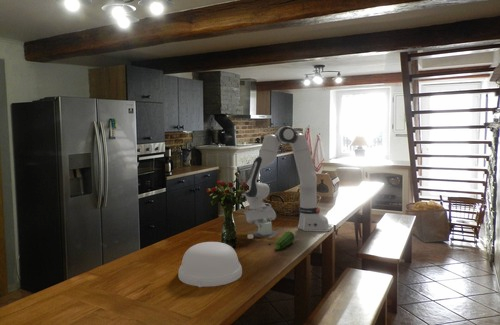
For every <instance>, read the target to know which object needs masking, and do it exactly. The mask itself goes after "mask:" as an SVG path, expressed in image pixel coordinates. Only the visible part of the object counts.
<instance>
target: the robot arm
mask: <svg viewBox="0 0 500 325" xmlns="http://www.w3.org/2000/svg"><path fill="white" fill-rule="evenodd" d="M285 144H289V145H290V147H291V148H292V153H293V156H294V161H295V165H296V170H297V175H298V178H299V210H298V212H299V220H298V225H297V228H298V229H299V230H302V231H304V232H320V233H321V232H326V233H327V232H329V231H331V230H332V229H333V228H332V227H333V226H332V225H330V224H329V220H328V218H327V217H326V216H325V215H323V214H322V213H321V210H320V209H321V208H320V207H318V199H317V198H318V194H317V193H318V192H317V187H318V186H317V182H318V177H317V173H316V169H315V165H314V160H313V158H312V154H311V150H310V145H309V142H308V140H307V138H306V136H305V135H304V133H298V132H297V131H296V130H295V129H294V128H293V127H291V126H290V125H289V126H288V125H287V126H285V125H284V126H281V127H279V128H277V130H276V131H275V132H274V133H273V134H272V133H271V134H266V135H265V137H264V138H263V140H262V144H261V147H260V152H259V154H258V156H257V157H255V159H254V161H253V163H252V165H251V169H250V170H249V171H250V172H249V175H248V177H247V180H246V182H245V184H247V185H248V186H249V190H247V191H246V192H244V196H245V199H246V201H247V203H248V206H249V209H245V210H244V211H243V212H244V215H245V219H246V222H247V223H248V224H253V223H254V224H255V225H256V226H257V229H258V228H260V227H261V224H259V223H258V222H262V221H263V218H266V219H267V221H268V222H271V223H272V221H274V220H276V218H277V213H276V212H275V210H274V208H273V207H272V205H271V203H266V202H263V201H264V200H265V199H266V198H268V197H269V195H270V192H271V188H270V186H269V184H267V183H264V182H259V181H257V180H258V178H259V175H260V172H261V170H262V169H263V168H265V167H267V166H270V165H272V164H273V163H275V162H276V160H277V157H278V151H279V147H280V146H281V145H285Z"/></svg>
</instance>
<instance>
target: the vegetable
mask: <svg viewBox="0 0 500 325" xmlns="http://www.w3.org/2000/svg"><path fill="white" fill-rule="evenodd" d="M294 241H295V234H294V233H293V232H292V231H285V232H284V233H283V234H281V235H280V237H279V238H278V239H277V241H275V245H274V249H275V250H277V251H282V250H283V249H285V248H286V247H288V246H289V245H291V244H292V243H293V242H294Z"/></svg>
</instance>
